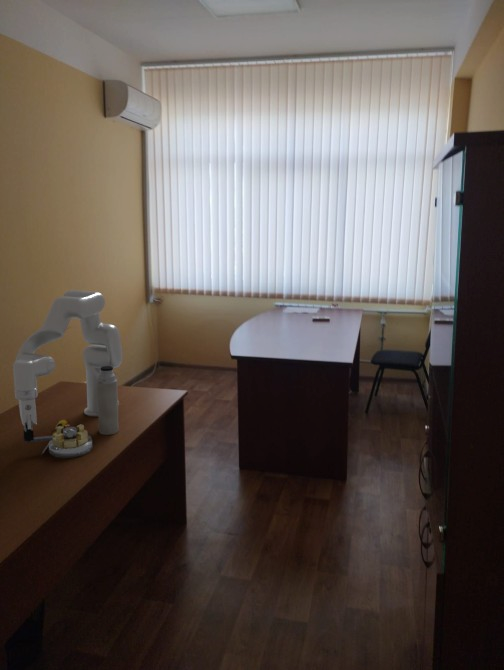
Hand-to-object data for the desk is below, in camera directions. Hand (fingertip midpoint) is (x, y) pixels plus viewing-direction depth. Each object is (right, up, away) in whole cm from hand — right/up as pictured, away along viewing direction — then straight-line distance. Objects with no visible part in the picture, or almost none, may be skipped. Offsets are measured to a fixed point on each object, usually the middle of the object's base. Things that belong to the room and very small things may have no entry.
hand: (28, 439), depth 200 cm
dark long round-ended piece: (+8, -2, +7) cm, 11 cm away
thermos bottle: (+23, -2, +27) cm, 35 cm away
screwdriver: (+3, -4, +16) cm, 17 cm away
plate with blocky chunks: (+12, -5, +10) cm, 16 cm away
